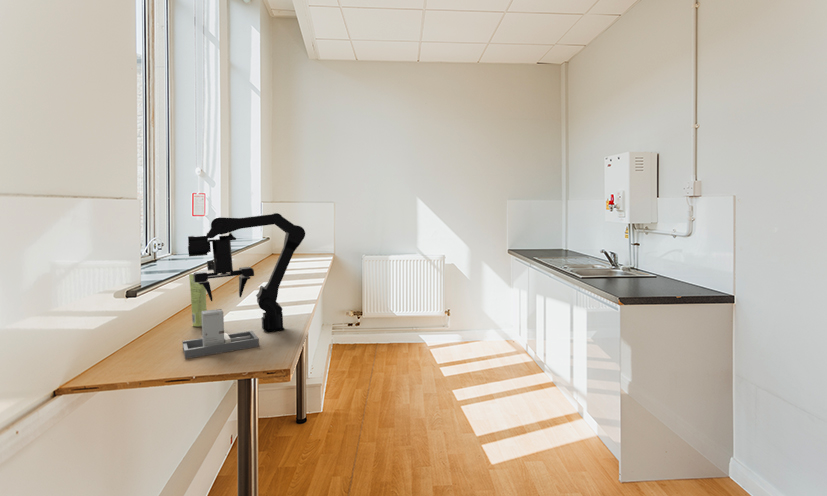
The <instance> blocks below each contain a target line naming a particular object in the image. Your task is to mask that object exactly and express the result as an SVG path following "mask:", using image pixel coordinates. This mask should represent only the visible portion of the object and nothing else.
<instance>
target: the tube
mask: <svg viewBox="0 0 827 496" xmlns="http://www.w3.org/2000/svg"><path fill="white" fill-rule="evenodd" d="M193 274H194V273H188V279H189V288H190V290H189V291H190V302H191V321H192V327H195V328H196V327H197V328H198V327H202V315H201V311H207V291H206V289H205V287H204V286H203V284H202V285H200V284H199V283H198V282H194V279H193Z"/></svg>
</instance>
